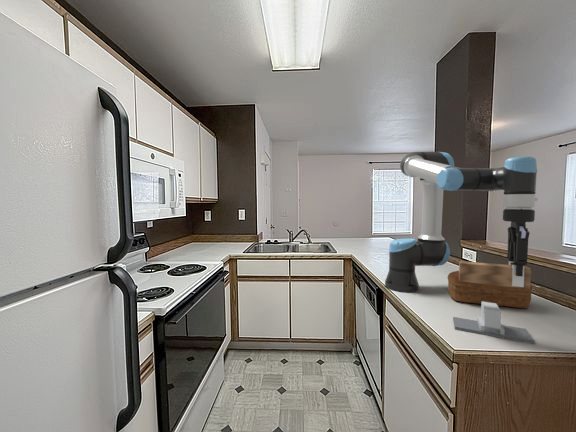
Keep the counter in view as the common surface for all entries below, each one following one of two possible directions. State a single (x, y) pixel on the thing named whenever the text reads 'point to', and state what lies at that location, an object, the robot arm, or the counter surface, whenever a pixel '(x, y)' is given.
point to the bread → (487, 293)
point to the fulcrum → (492, 325)
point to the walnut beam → (490, 274)
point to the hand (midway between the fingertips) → (515, 284)
